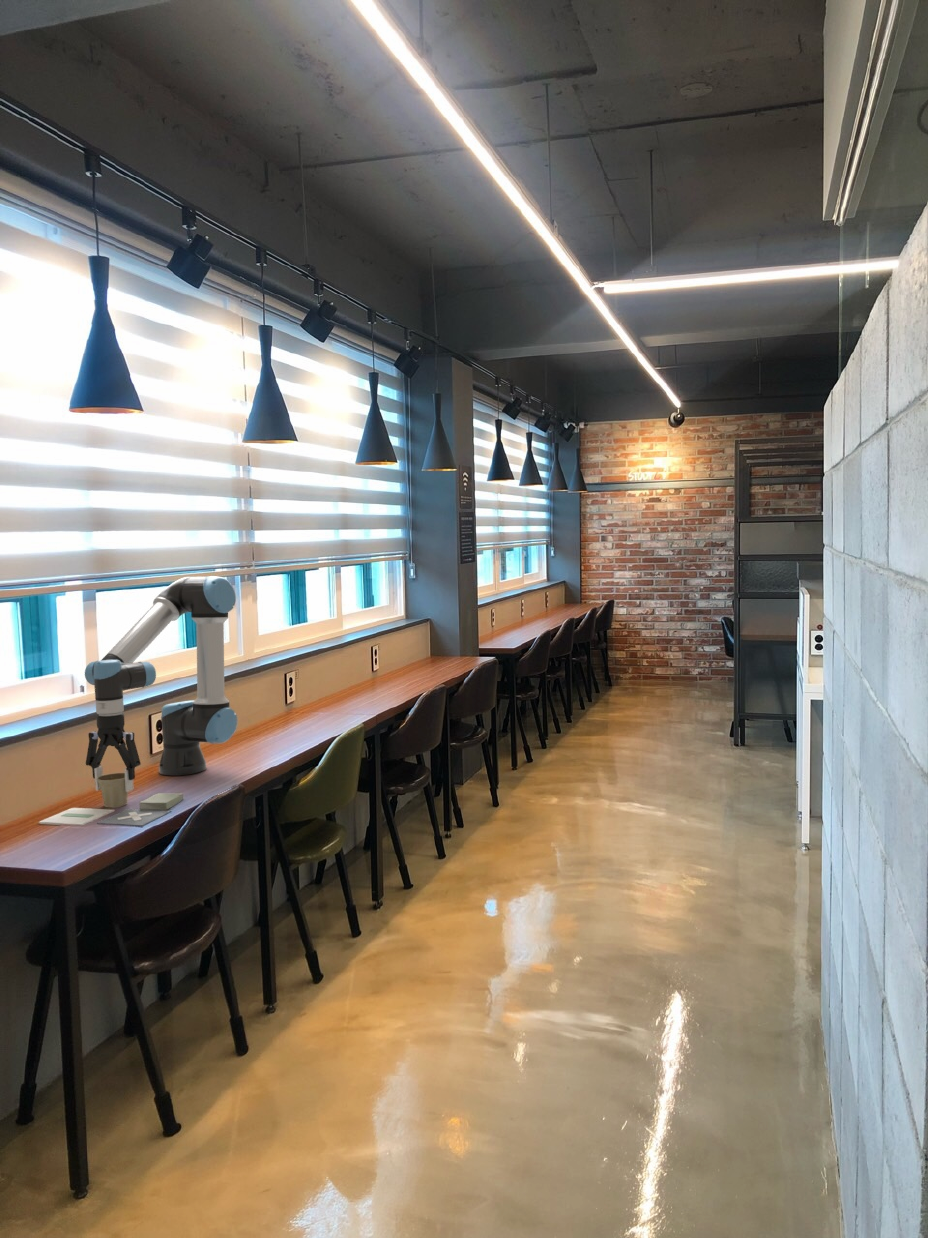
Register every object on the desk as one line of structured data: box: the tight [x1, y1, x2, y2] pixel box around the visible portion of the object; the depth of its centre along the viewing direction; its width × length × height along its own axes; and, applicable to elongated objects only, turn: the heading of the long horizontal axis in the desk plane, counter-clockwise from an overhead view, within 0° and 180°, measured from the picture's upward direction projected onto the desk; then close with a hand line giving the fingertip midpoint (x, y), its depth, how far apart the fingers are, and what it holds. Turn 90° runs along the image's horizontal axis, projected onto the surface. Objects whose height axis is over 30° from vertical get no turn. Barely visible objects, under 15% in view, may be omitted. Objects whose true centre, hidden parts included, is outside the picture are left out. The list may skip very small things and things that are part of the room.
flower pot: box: [97, 772, 129, 809], centre depth 276 cm, size 9×9×9 cm
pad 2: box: [96, 807, 173, 828], centre depth 262 cm, size 14×14×1 cm
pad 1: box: [38, 807, 116, 827], centre depth 264 cm, size 14×14×1 cm
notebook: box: [138, 792, 184, 810], centre depth 274 cm, size 12×8×2 cm, turn 175°
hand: (114, 790), depth 276 cm, fingers closed on flower pot, 9 cm apart
